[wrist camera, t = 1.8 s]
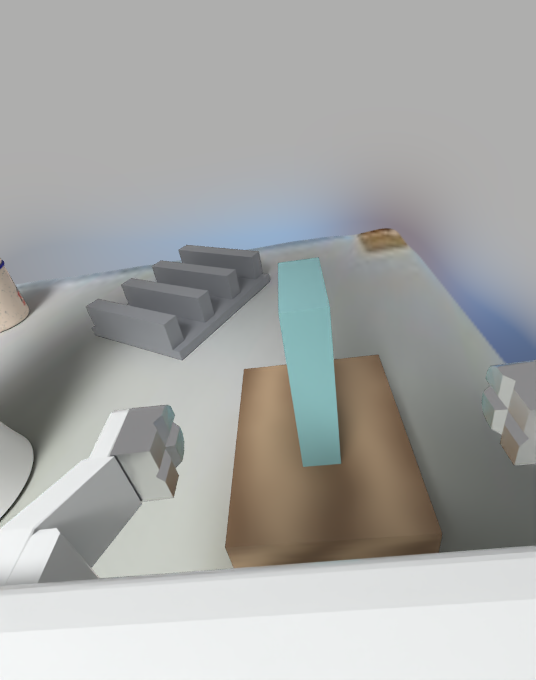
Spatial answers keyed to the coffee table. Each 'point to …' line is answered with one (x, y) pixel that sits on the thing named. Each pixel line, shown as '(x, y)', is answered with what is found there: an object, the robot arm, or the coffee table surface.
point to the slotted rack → (181, 300)
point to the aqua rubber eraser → (309, 359)
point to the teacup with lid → (10, 301)
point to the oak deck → (326, 477)
